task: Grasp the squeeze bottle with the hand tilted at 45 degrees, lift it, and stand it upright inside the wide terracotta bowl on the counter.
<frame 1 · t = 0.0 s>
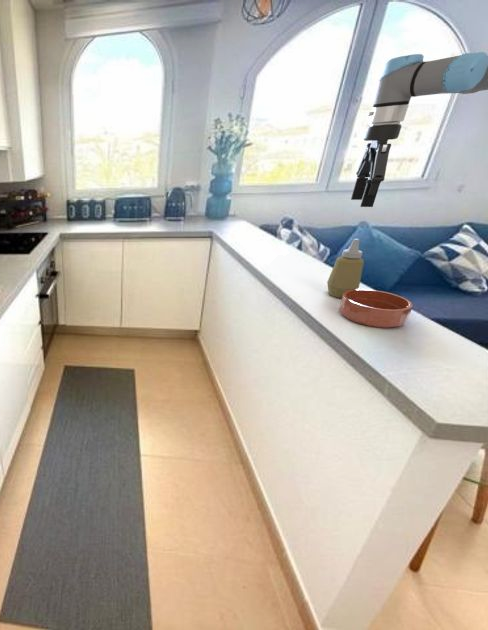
hand: (361, 203, 105), 27 cm above the table, tool pointing down, fingers open, 13 cm apart
squeeze bottle: (339, 295, 109), on the table
bowl: (369, 317, 95), on the table
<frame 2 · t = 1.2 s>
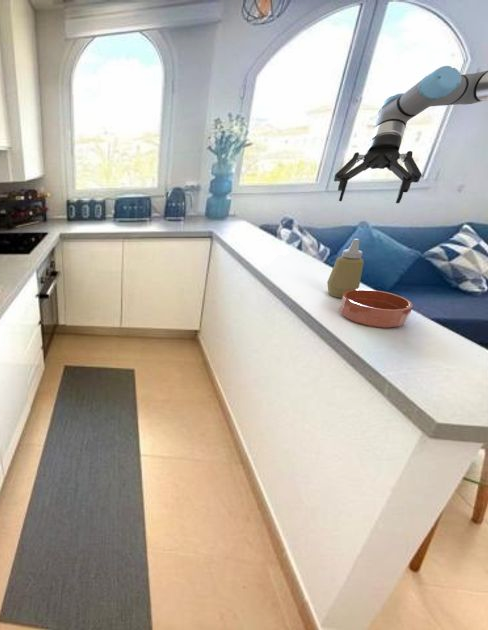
hand: (368, 199, 104), 28 cm above the table, tool tilted 45°, fingers open, 13 cm apart
nothing on the table moved.
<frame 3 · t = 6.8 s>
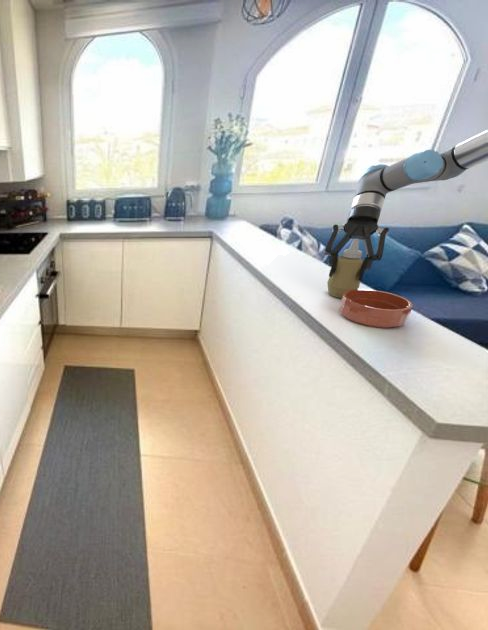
hand: (345, 276, 104), 7 cm above the table, tool tilted 45°, fingers closed on squeeze bottle, 6 cm apart
squeeze bottle: (339, 295, 109), on the table, touching gripper
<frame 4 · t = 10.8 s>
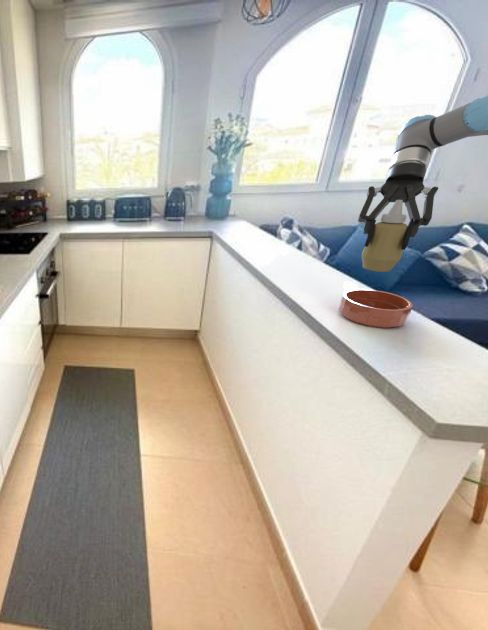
hand: (385, 245, 88), 20 cm above the table, tool tilted 45°, fingers closed on squeeze bottle, 6 cm apart
squeeze bottle: (376, 269, 93), point 13 cm above the table, touching gripper
when the fingers open (8 cm above the table, at t = 14.9 s): squeeze bottle stays where it is, resting on bowl.
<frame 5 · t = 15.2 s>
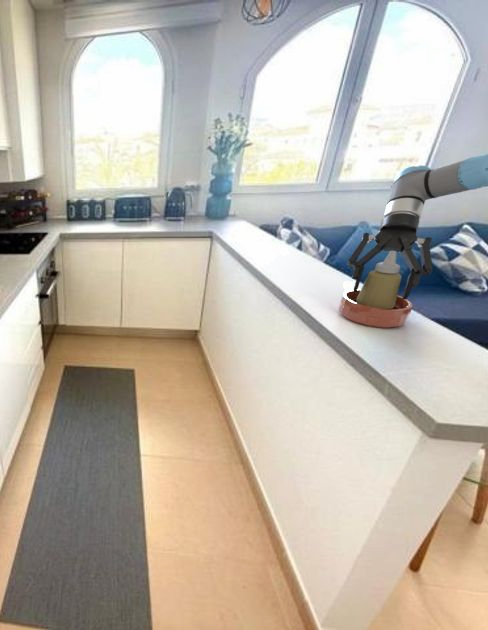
hand: (379, 293, 90), 8 cm above the table, tool tilted 45°, fingers open, 9 cm apart
squeeze bottle: (370, 315, 95), point 1 cm above the table, touching bowl
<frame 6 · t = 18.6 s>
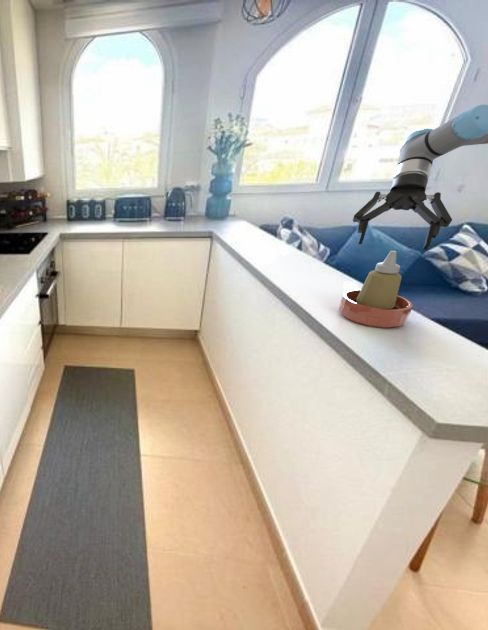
hand: (392, 244, 95), 18 cm above the table, tool tilted 45°, fingers open, 13 cm apart
nothing on the table moved.
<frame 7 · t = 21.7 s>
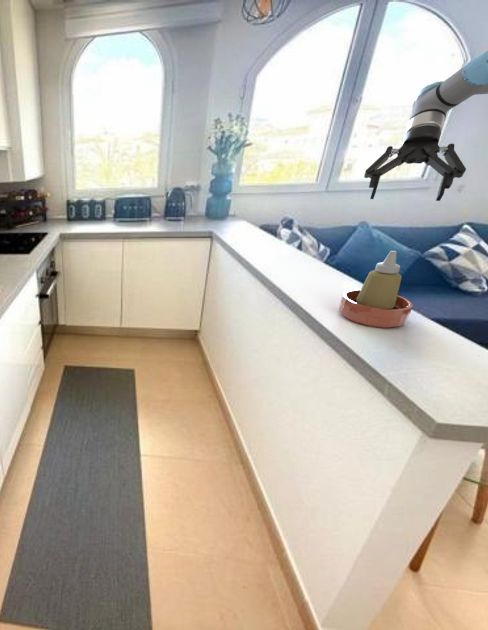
hand: (404, 197, 94), 30 cm above the table, tool tilted 45°, fingers open, 13 cm apart
nothing on the table moved.
at the end: squeeze bottle 0.1 cm off-centre in the bowl, point 0.6 cm above the bowl's base; squeeze bottle tilted 0°; the gripper is holding nothing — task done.
